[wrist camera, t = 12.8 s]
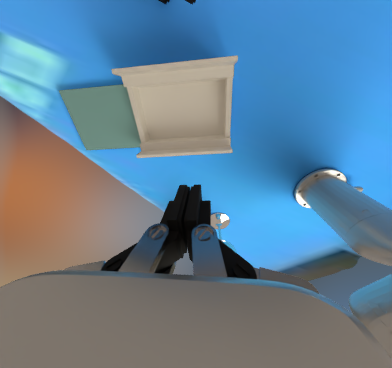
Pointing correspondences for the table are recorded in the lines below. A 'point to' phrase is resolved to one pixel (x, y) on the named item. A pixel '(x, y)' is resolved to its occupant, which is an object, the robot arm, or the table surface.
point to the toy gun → (185, 0)
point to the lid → (103, 117)
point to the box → (182, 106)
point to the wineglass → (221, 226)
